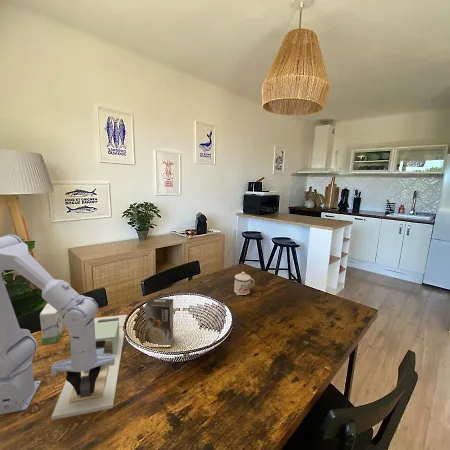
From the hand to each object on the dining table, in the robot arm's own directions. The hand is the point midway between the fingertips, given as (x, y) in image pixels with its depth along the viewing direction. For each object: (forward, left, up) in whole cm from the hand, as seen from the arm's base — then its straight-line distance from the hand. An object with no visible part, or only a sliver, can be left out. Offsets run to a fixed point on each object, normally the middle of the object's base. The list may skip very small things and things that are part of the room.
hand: (86, 391), depth 68 cm
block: (+11, 0, -1) cm, 11 cm away
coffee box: (+21, -20, -3) cm, 29 cm away
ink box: (+33, +18, -3) cm, 38 cm away
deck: (+19, 0, -3) cm, 19 cm away
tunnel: (+21, 0, -3) cm, 21 cm away
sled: (+11, 0, -2) cm, 11 cm away
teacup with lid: (+55, -66, -3) cm, 86 cm away
